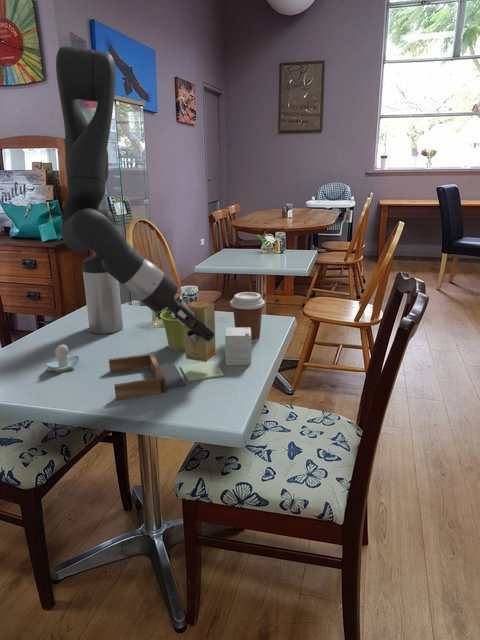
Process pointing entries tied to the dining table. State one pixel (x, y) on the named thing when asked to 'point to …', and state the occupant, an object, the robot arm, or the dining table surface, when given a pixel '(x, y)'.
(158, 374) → the brown wooden u-shaped piece
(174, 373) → the dark grey flat bar
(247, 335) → the skincare box
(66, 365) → the pacifier
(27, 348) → the dining table surface
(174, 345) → the plant pot
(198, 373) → the pad
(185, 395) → the dining table surface
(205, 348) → the shoe polish box
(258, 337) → the coffee cup
